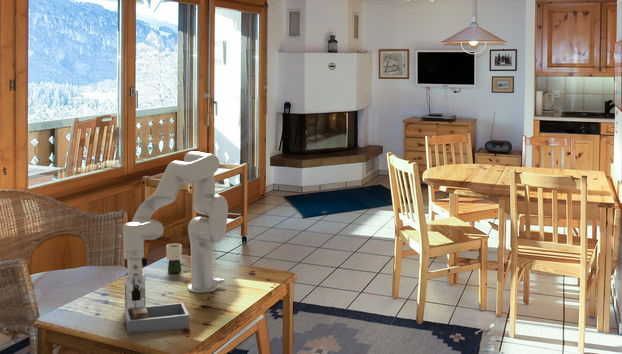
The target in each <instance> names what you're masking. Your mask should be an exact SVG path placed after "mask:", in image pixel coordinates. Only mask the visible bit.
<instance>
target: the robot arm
mask: <svg viewBox="0 0 622 354" xmlns="http://www.w3.org/2000/svg"><path fill="white" fill-rule="evenodd" d="M219 168H220V160H219V158H218V156H216V154H213V153H208V152H207V153H206V152H201V151H191V150H190V151H188V152H186V153H185V154H184V156H183V161H182V160H173V161H171V162H169V164H167V166H166V169H165V171H164V172H163V175H161V179H160V181H159V182H158V185H157V187H156V189H155V190H154V191H153V193H152V194H150V196H148V197H147V198H146V199H145V200H144V201H143V202H142V203H141V204H140V205H139V206H138V208H137V210H136V211H135V213H134V215H133V218H132V221H129V222H126V223H125V224H123V226H122V227H123V228H122V230H123V232H122V233H123V234H122V235H123V258H124V260H127V275H128V276H129V280H130V284H132V301H137V300H140V286H139V282H140V283H141V284H142V283H143V275H144V274H143V261H142V259H143V258H144V257H145V253H144V251H145V249H144V248H145V247H144V245H145V244H144V241H146V240H156V239H158V238H160V237H162V235H163V234H164V230H165V229H164V225H163V223H161V222H160V221H158V220H156V219H151V218H152V216H153V214H154V213H155V212H156V211H157V210H158V209H160V208H162V207H165V206H167V205H169V204H172V203H174V201H175V200H176V198H177V196H178V194H179V191H180V190H181V187H182V185H183V183H184V184H190V185H191V184H194V192H193V193H194V195H193V196H194V197H193V209H194V210H193V211H195V213H198V214H200V215H205V216H208V217H204V216H196V217H193V218H192V219H190V221H189V223H188V226H187V232H188V238H189V243H190V244H189V245H190V275H191V276H190V280H191V283H190V284H187V290H188V291H189V292H190V293H197V294H205V293H206V294H207V293H211V292H214V291H216V290H217V289H218V285H220V284H225V279H224V278H222V279H221V278H220V277H218V278H215V276H214V247H213V246H214V245H213V244H218V243H220V242H222V241H223V240H224V238H225V235H226V232H227V224H228V215H229V206H228V200H226V199H227V198H225V196H223V195H221V194H217V193H216V179H215V175H214V174H215V173H216V172H217V171H218V170H219ZM142 274H143V275H142ZM133 279H134V281H135V283H133ZM134 285H135V286H134Z"/></svg>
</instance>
